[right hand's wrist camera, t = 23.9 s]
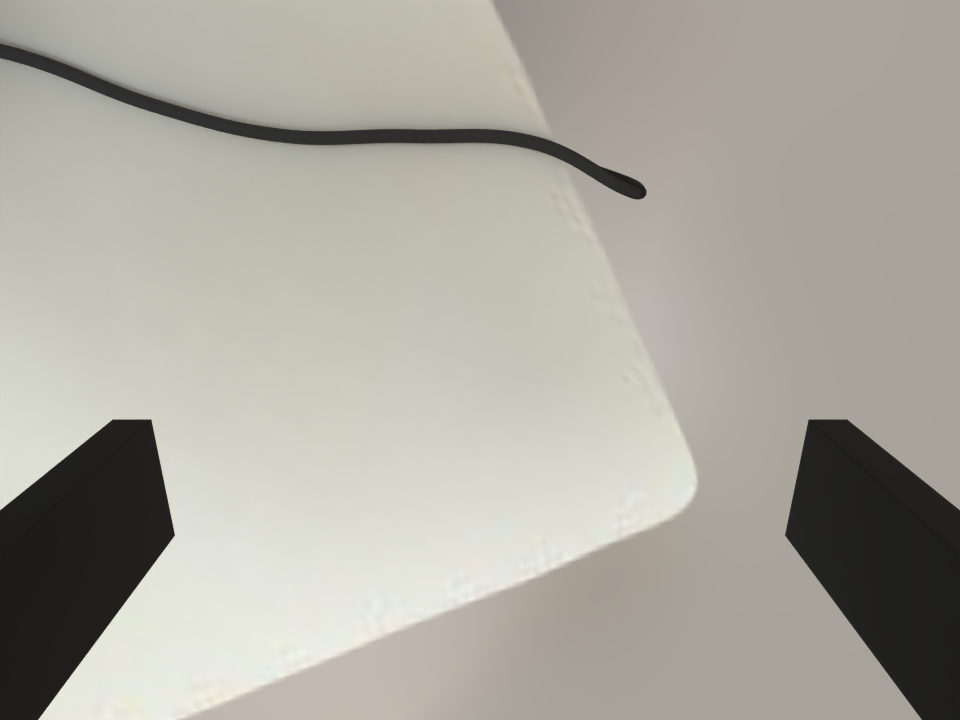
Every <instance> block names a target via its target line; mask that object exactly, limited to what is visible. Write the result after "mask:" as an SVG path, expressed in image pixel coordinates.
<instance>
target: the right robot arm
mask: <svg viewBox="0 0 960 720" xmlns="http://www.w3.org/2000/svg"><path fill="white" fill-rule="evenodd" d="M0 58H3V59H7V60H11V61H14V62H18V63H21V64H25V65H28V66H31V67H34V68H37V69H40V70H43V71H46V72H49V73H52V74H54V75H57V76H59V77H62V78H65V79H67V80H70V81H72V82H75V83H77V84H79V85H82V86H84V87H87V88H89V89H91V90H94V91H96V92H99V93H101V94H103V95H106V96H108V97H111V98H114V99H116V100H119V101H121V102H124V103H127V104H130V105H133V106H135V107H138V108H142V109H145V110H148V111H151V112H154V113H158V114H161V115H164V116H168V117H171V118H174V119H178V120H181V121H184V122H188V123H191V124H195V125H198V126H202V127H205V128H209V129H213V130H217V131H221V132H225V133H230V134H234V135H239V136H244V137H250V138H255V139H261V140H268V141H276V142H284V143H293V144H309V145H341V144H364V143H497V144H507V145H514V146H519V147H524V148H529V149H533V150H537V151H540V152H543V153H546V154H549V155H551V156H554V157H556V158H558V159H561V160H563V161H565V162H567V163H569V164H571V165H572V166H574V167H576V168H578V169H579V170H581V171H583V172H584V173H586V174H587V175H589V176H591V177H592V178H594V179H595V180H597V181H599V182H600V183H602V184H603V185H605V186H607V187H608V188H610V189H612V190H614V191H616V192H618V193H620V194H622V195H625V196H627V197H630V198H633V199H636V200H639V199H643V198H644V197H645V196H646V193H647V190H646V188H645V187H644V185H643V184H642V183H640V182H639V181H637V180H635V179H633V178H631V177H629V176H626V175H623V174H621V173H618V172H615V171H612V170H609V169H606V168H603V167H600V166H598V165H596V164H595V163H593V162H592V161H590V160H588V159H587V158H585V157H583V156H582V155H580V154H578V153H576V152H574V151H572V150H571V149H569V148H567V147H564V146H562V145H560V144H557V143H555V142H552V141H549V140H546V139H543V138H540V137H536V136H532V135H527V134H522V133H517V132H510V131H502V130H488V129H449V130H411V129H379V130H354V131H297V130H286V129H277V128H270V127H263V126H257V125H251V124H245V123H240V122H235V121H231V120H226V119H222V118H218V117H214V116H211V115H207V114H203V113H200V112H196V111H193V110H189V109H186V108H183V107H179V106H176V105H173V104H169V103H166V102H163V101H159V100H156V99H153V98H150V97H147V96H144V95H141V94H138V93H135V92H132V91H129V90H127V89H124V88H121V87H119V86H116V85H114V84H111V83H109V82H106V81H104V80H101V79H99V78H97V77H94V76H92V75H90V74H87V73H85V72H82V71H80V70H78V69H75V68H73V67H70V66H68V65H65V64H62V63H60V62H57V61H54V60H52V59H49V58H46V57H43V56H40V55H37V54H34V53H31V52H28V51H24V50H21V49H18V48H14V47H10V46H7V45H3V44H0ZM174 536H175V534H174V529H173V524H172V519H171V514H170V509H169V504H168V499H167V494H166V490H165V485H164V480H163V475H162V470H161V465H160V460H159V455H158V450H157V445H156V440H155V435H154V431H153V426H152V421H151V420H112V421H111V422H109V423H108V424H107V425H106V426H104V427H103V428H102V429H101V430H99V431H98V432H97V433H96V434H94V435H93V436H92V437H91V438H89V439H88V440H87V441H86V442H85V443H83V444H82V445H81V446H80V447H78V448H77V449H76V450H75V451H73V452H72V453H71V454H70V455H68V456H67V457H66V458H65V459H63V460H62V461H61V462H60V463H58V464H57V465H56V466H55V467H53V468H52V469H51V470H50V471H48V472H47V473H46V474H45V475H44V476H42V477H41V478H40V479H39V480H37V481H36V482H35V483H34V484H32V485H31V486H30V487H29V488H27V489H26V490H25V491H24V492H22V493H21V494H20V495H19V496H17V497H16V498H15V499H14V500H12V501H11V502H10V503H9V504H7V505H6V506H5V507H4V508H3V509H1V510H0V720H38V719H39V718H40V716H41V715H42V714H43V712H44V711H45V710H46V708H47V707H48V706H49V704H50V703H51V702H52V700H53V699H54V698H55V696H56V695H57V694H58V692H59V691H60V689H61V688H62V687H63V685H64V684H65V683H66V681H67V680H68V679H69V677H70V676H71V675H72V673H73V672H74V671H75V669H76V668H77V667H78V665H79V664H80V663H81V661H82V660H83V658H84V657H85V656H86V654H87V653H88V652H89V650H90V649H91V648H92V646H93V645H94V644H95V642H96V641H97V640H98V638H99V637H100V636H101V634H102V633H103V632H104V630H105V629H106V627H107V626H108V625H109V623H110V622H111V621H112V619H113V618H114V617H115V615H116V614H117V613H118V611H119V610H120V609H121V607H122V606H123V605H124V603H125V602H126V601H127V599H128V598H129V596H130V595H131V594H132V592H133V591H134V590H135V588H136V587H137V586H138V584H139V583H140V582H141V580H142V579H143V578H144V576H145V575H146V574H147V572H148V571H149V570H150V568H151V567H152V565H153V564H154V563H155V561H156V560H157V559H158V557H159V556H160V555H161V553H162V552H163V551H164V549H165V548H166V547H167V545H168V544H169V543H170V541H171V540H172V539H173V537H174ZM785 536H786V537H787V538H788V540H789V541H790V543H791V544H792V545H793V547H794V548H795V549H796V551H797V552H798V553H799V555H800V556H801V557H802V559H803V560H804V561H805V563H806V564H807V565H808V567H809V568H810V570H811V571H812V572H813V574H814V575H815V576H816V578H817V579H818V580H819V582H820V583H821V584H822V586H823V587H824V588H825V590H826V591H827V592H828V594H829V595H830V596H831V598H832V599H833V601H834V602H835V603H836V604H837V606H838V607H839V609H840V610H841V611H842V613H843V614H844V615H845V617H846V618H847V619H848V621H849V622H850V623H851V625H852V626H853V627H854V629H855V630H856V631H857V633H858V634H859V636H860V637H861V638H862V640H863V641H864V642H865V644H866V645H867V646H868V648H869V649H870V650H871V652H872V653H873V654H874V656H875V657H876V658H877V660H878V661H879V663H880V664H881V665H882V667H883V668H884V669H885V671H886V672H887V673H888V675H889V676H890V677H891V679H892V680H893V681H894V683H895V684H896V685H897V687H898V688H899V689H900V691H901V692H902V694H903V695H904V696H905V698H906V699H907V700H908V702H909V703H910V704H911V706H912V707H913V708H914V710H915V711H916V712H917V714H918V715H919V716H920V718H921V719H922V720H960V510H959V509H957V508H956V507H955V506H954V505H952V504H951V503H950V502H949V501H948V500H946V499H945V498H944V497H943V496H941V495H940V494H939V493H938V492H936V491H935V490H934V489H933V488H931V487H930V486H929V485H928V484H926V483H925V482H924V481H923V480H921V479H920V478H919V477H918V476H916V475H915V474H914V473H913V472H912V471H910V470H909V469H908V468H907V467H905V466H904V465H903V464H902V463H900V462H899V461H898V460H897V459H895V458H894V457H893V456H892V455H890V454H889V453H888V452H887V451H885V450H884V449H883V448H882V447H880V446H879V445H878V444H877V443H875V442H874V441H873V440H872V439H871V438H869V437H868V436H867V435H866V434H864V433H863V432H862V431H861V430H859V429H858V428H857V427H856V426H854V425H853V424H852V423H851V422H849V421H848V420H809V421H808V426H807V431H806V436H805V440H804V445H803V450H802V455H801V460H800V465H799V470H798V475H797V480H796V485H795V489H794V495H793V499H792V504H791V509H790V514H789V519H788V524H787V529H786V534H785Z"/></svg>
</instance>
